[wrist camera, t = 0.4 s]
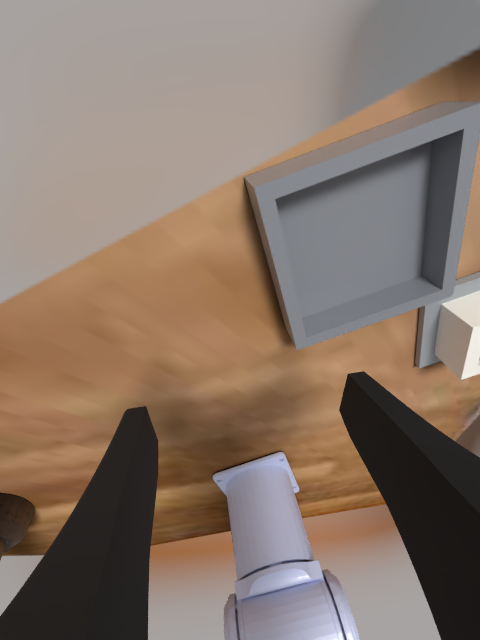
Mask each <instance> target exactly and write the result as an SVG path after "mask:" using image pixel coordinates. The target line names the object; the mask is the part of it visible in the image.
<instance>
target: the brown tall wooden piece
mask: <svg viewBox="0 0 480 640" xmlns="http://www.w3.org/2000/svg"><path fill="white" fill-rule="evenodd" d="M33 512H34V508H33V505H32V504H31V503H30V502H29V501H27V500H25V499H23V498H21V497H18V496H14V495H10V494H0V560H1V557H2V555H3V553H4V552H6V551H8V550H10V549H11V548H12V547H13V546H15V545H16V544H18V543H20V542H21V541H22V540H23V539H24V537H25V535H26V533H27V530H28V527H29V524H30V521H31V519H32V516H33Z"/></svg>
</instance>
